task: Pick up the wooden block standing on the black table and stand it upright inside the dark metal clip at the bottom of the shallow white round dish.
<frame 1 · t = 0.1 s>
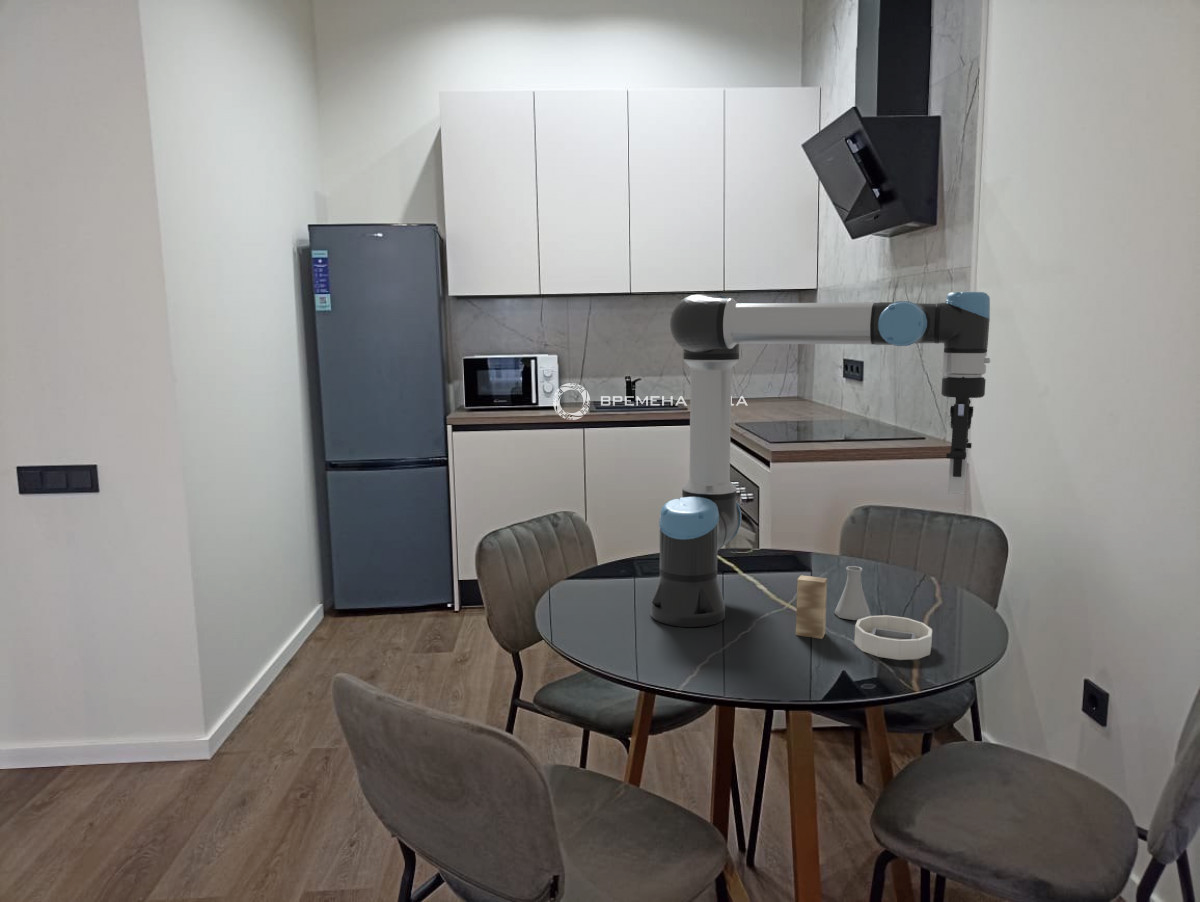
hand: (957, 487, 165), 28 cm above the table, fingers open, 13 cm apart
flask: (852, 616, 177), on the table
wooden block: (810, 634, 166), on the table
white round dish: (892, 645, 160), on the table
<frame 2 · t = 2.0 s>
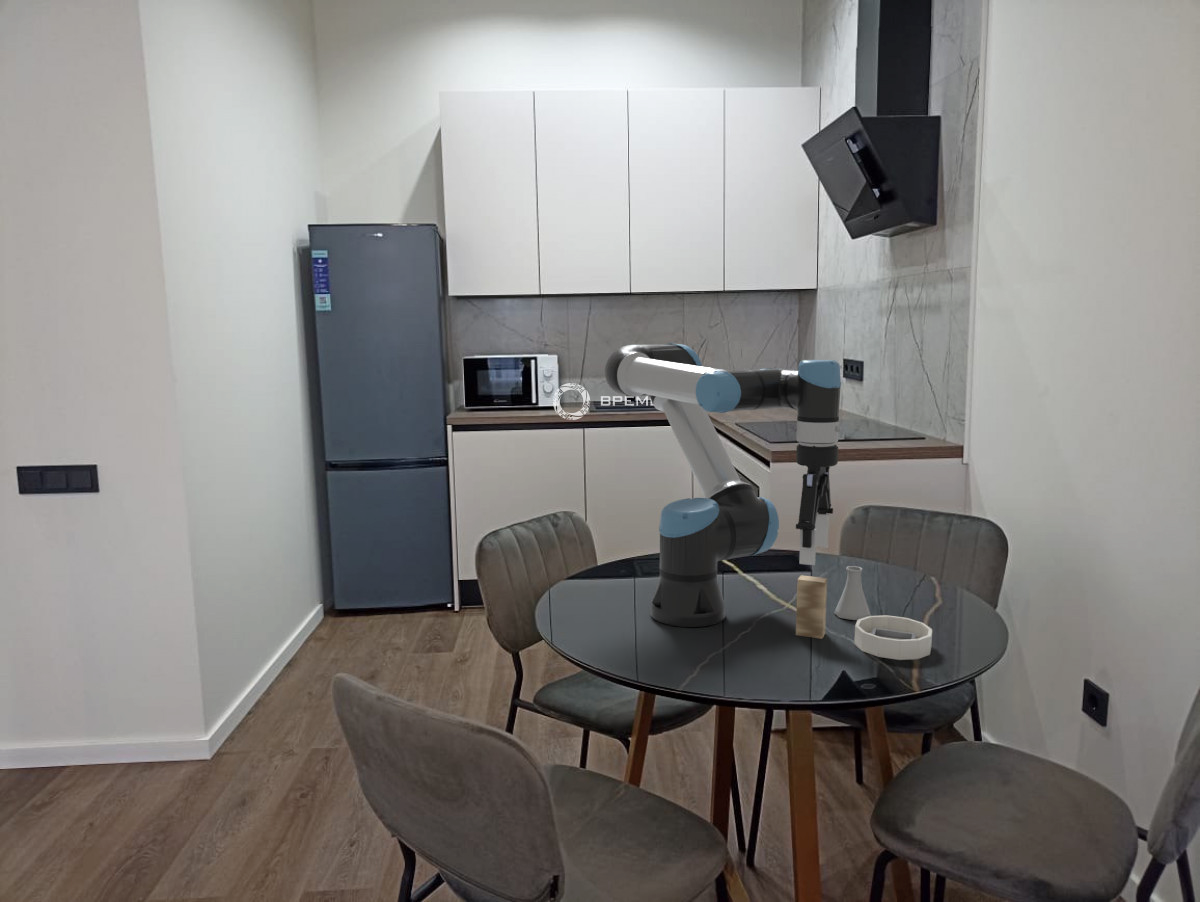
hand: (814, 555, 164), 16 cm above the table, fingers open, 13 cm apart
nothing on the table moved.
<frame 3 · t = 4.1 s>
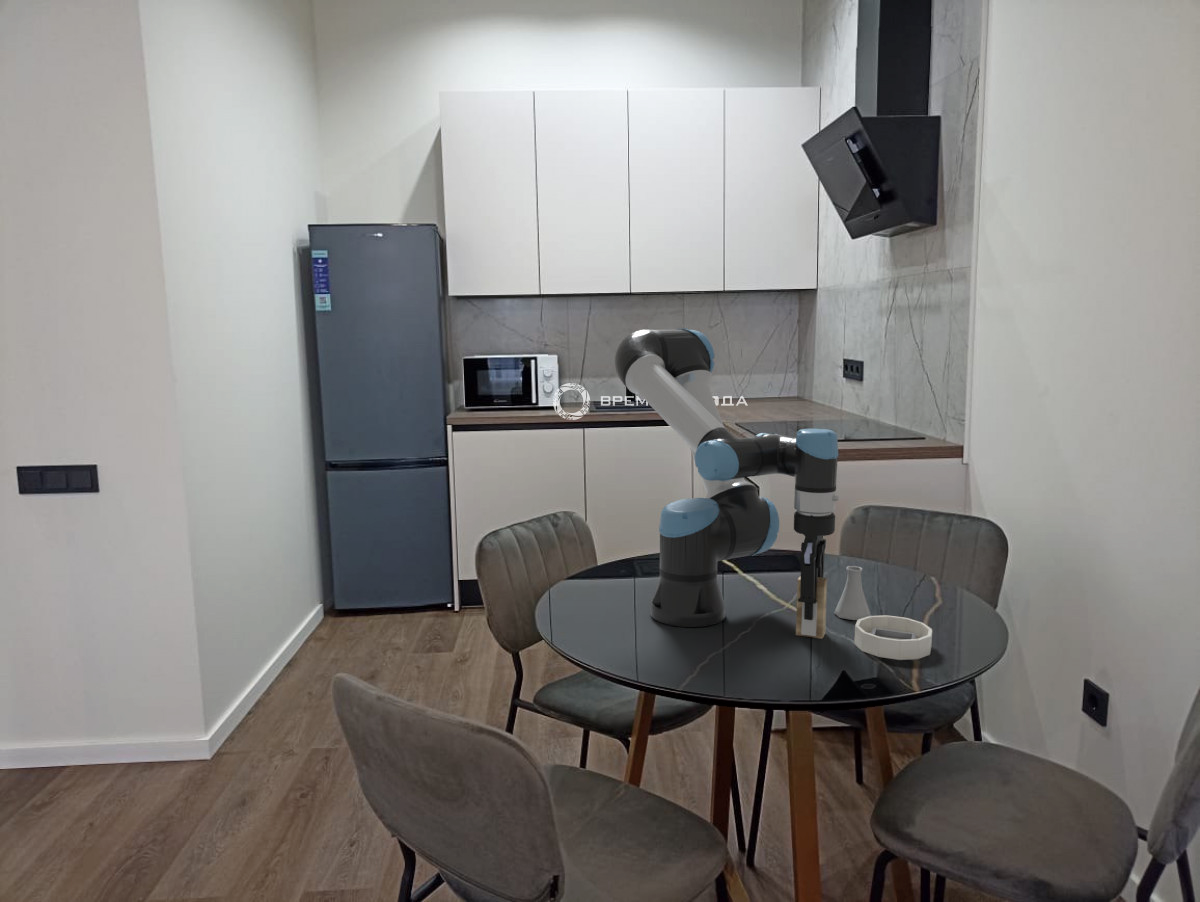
hand: (810, 631, 166), 1 cm above the table, fingers closed on wooden block, 3 cm apart
wooden block: (810, 634, 166), on the table, touching gripper
everything else where it was.
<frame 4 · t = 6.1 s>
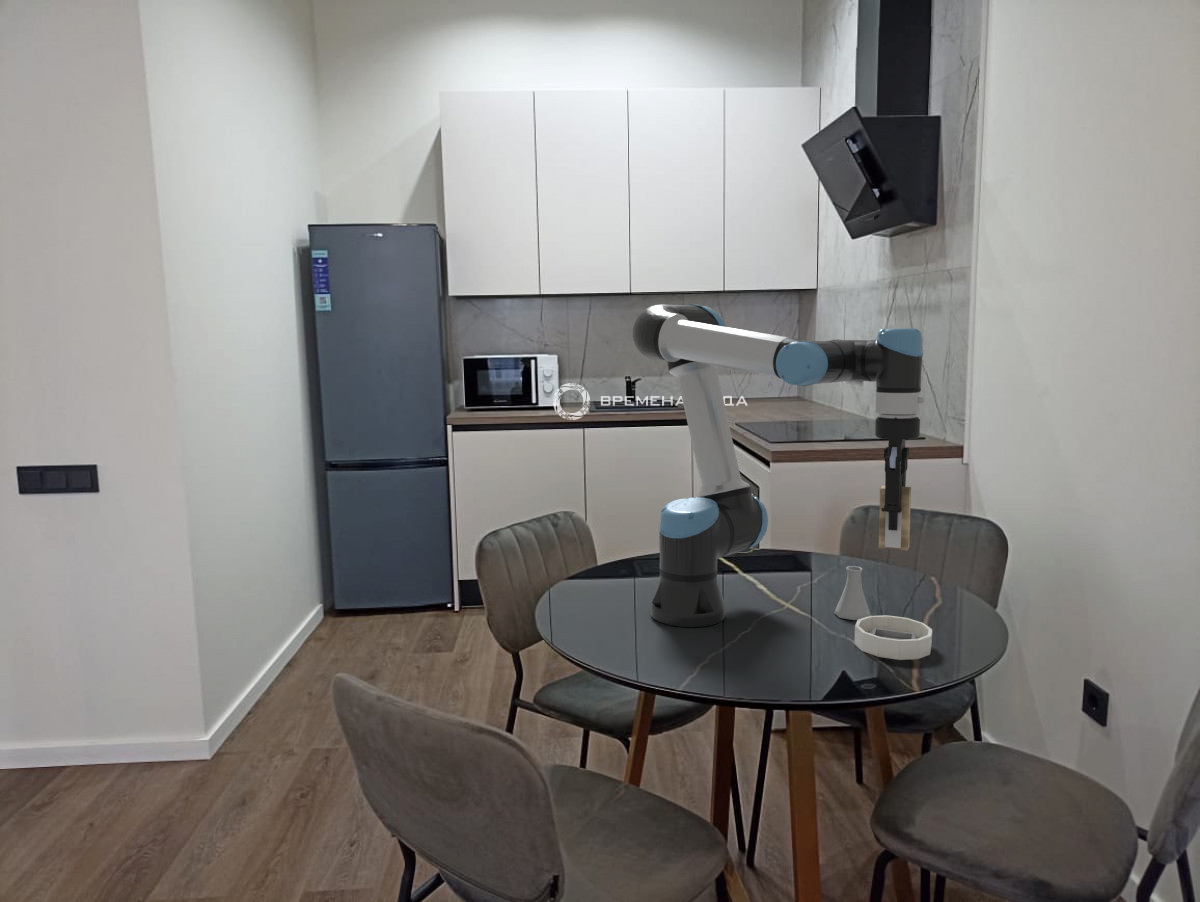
hand: (894, 544, 157), 19 cm above the table, fingers closed on wooden block, 3 cm apart
wooden block: (893, 547, 157), point 19 cm above the table, touching gripper
everything else where it was.
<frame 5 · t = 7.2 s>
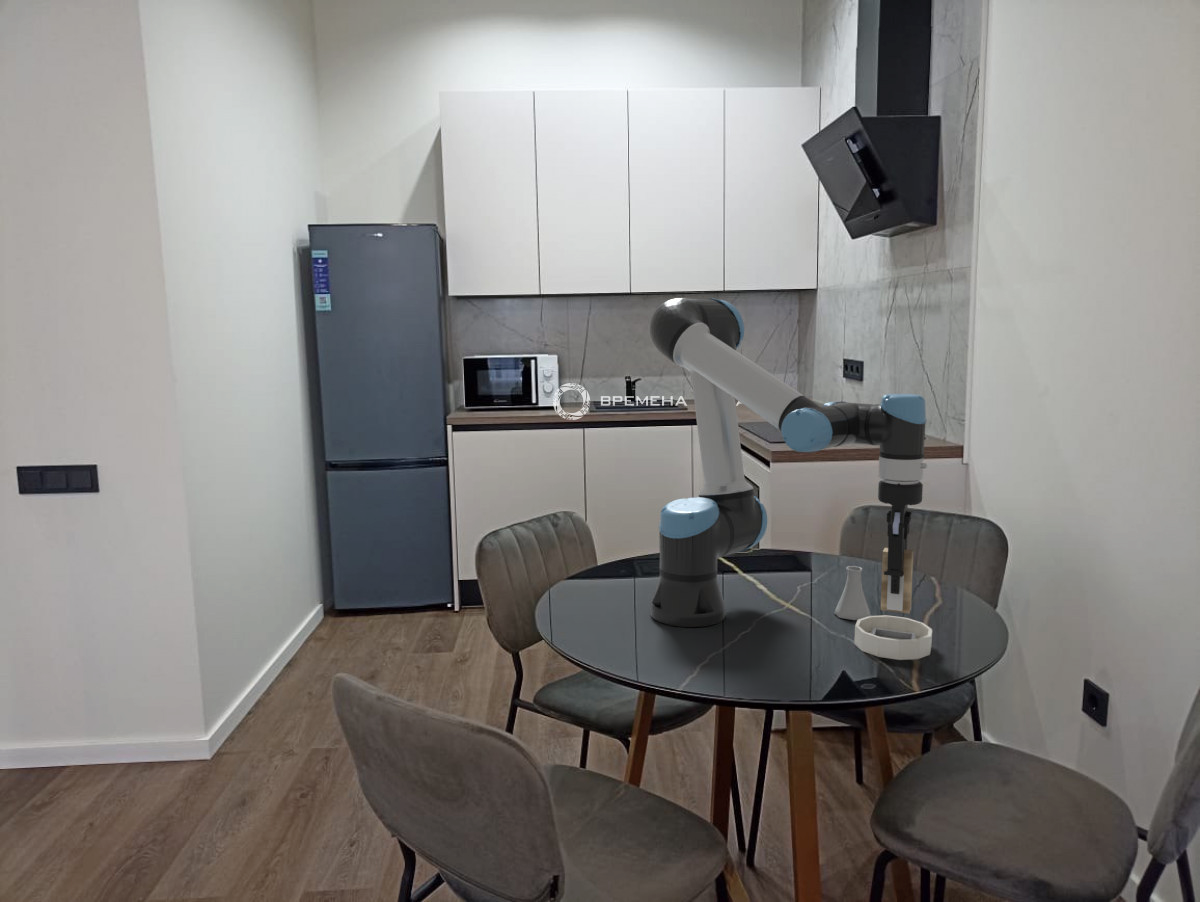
hand: (895, 606, 159), 8 cm above the table, fingers closed on wooden block, 3 cm apart
wooden block: (895, 609, 159), point 7 cm above the table, touching gripper
everything else where it was.
when the fingers open (3 cm above the table, at t = 8.2 s): wooden block drops 2 cm, resting on white round dish.
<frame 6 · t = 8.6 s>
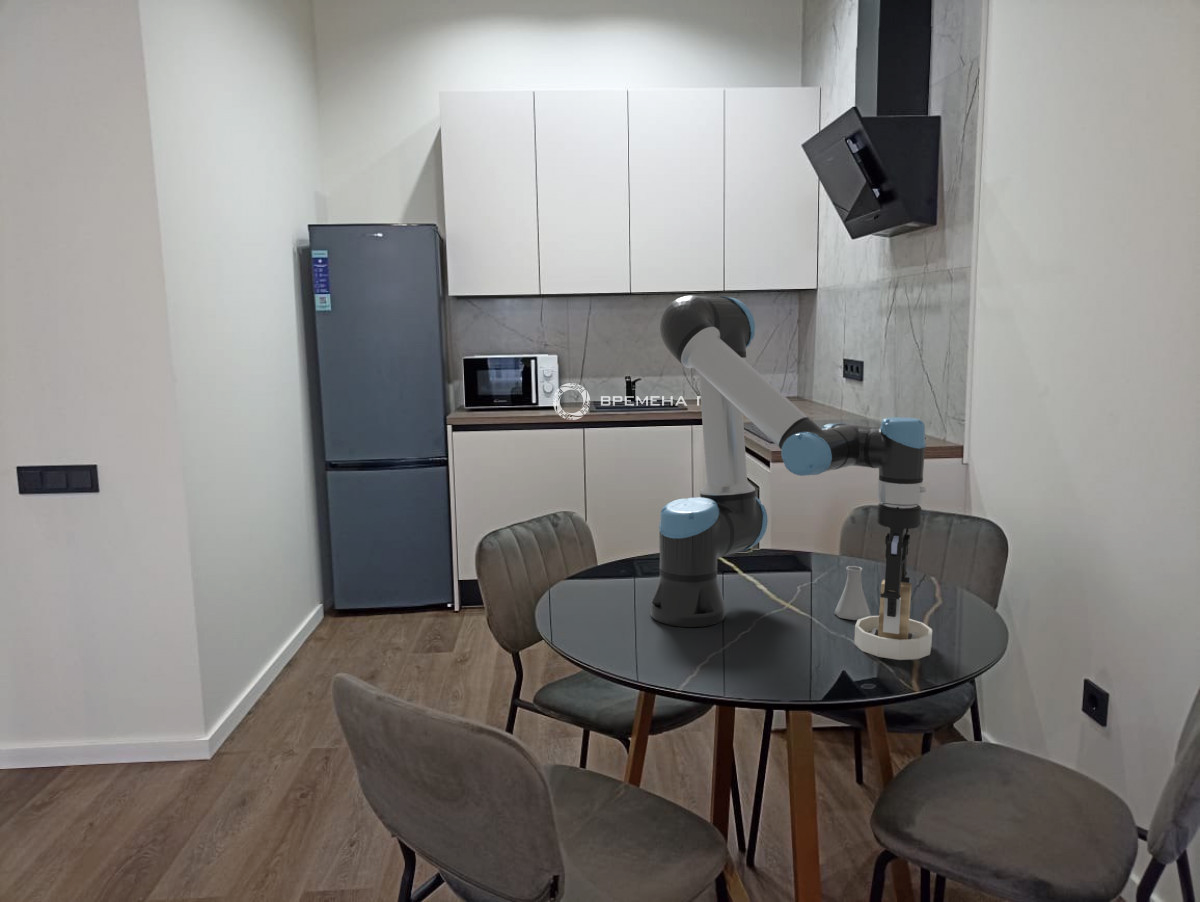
hand: (893, 624, 160), 4 cm above the table, fingers open, 8 cm apart
wooden block: (892, 641, 160), point 1 cm above the table, touching white round dish
everything else where it was.
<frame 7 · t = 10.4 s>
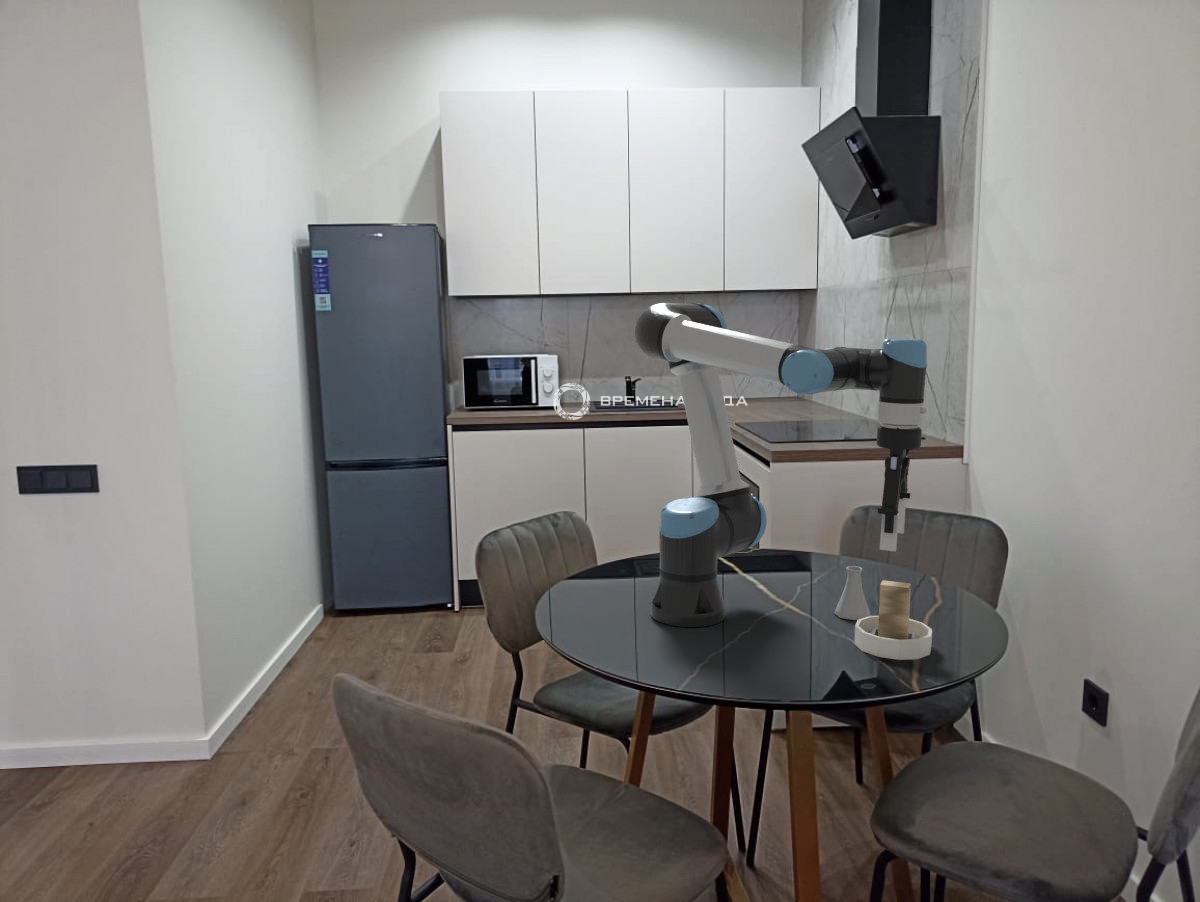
hand: (892, 541, 158), 20 cm above the table, fingers open, 13 cm apart
nothing on the table moved.
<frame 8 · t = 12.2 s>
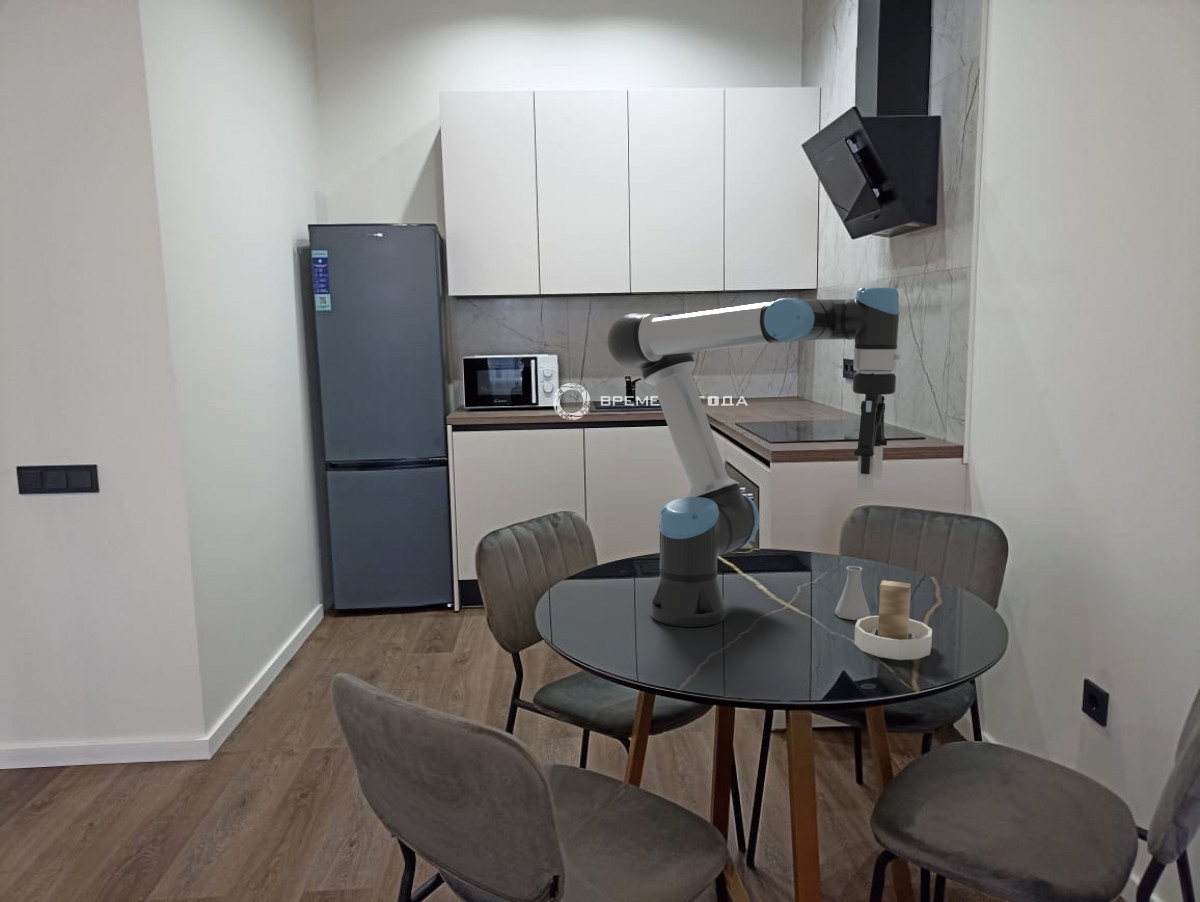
hand: (869, 485, 164), 29 cm above the table, fingers open, 13 cm apart
nothing on the table moved.
at the end: wooden block 0.0 cm off-centre on the white round dish, point 0.8 cm above the white round dish's base; wooden block tilted 0°; the gripper is holding nothing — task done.
